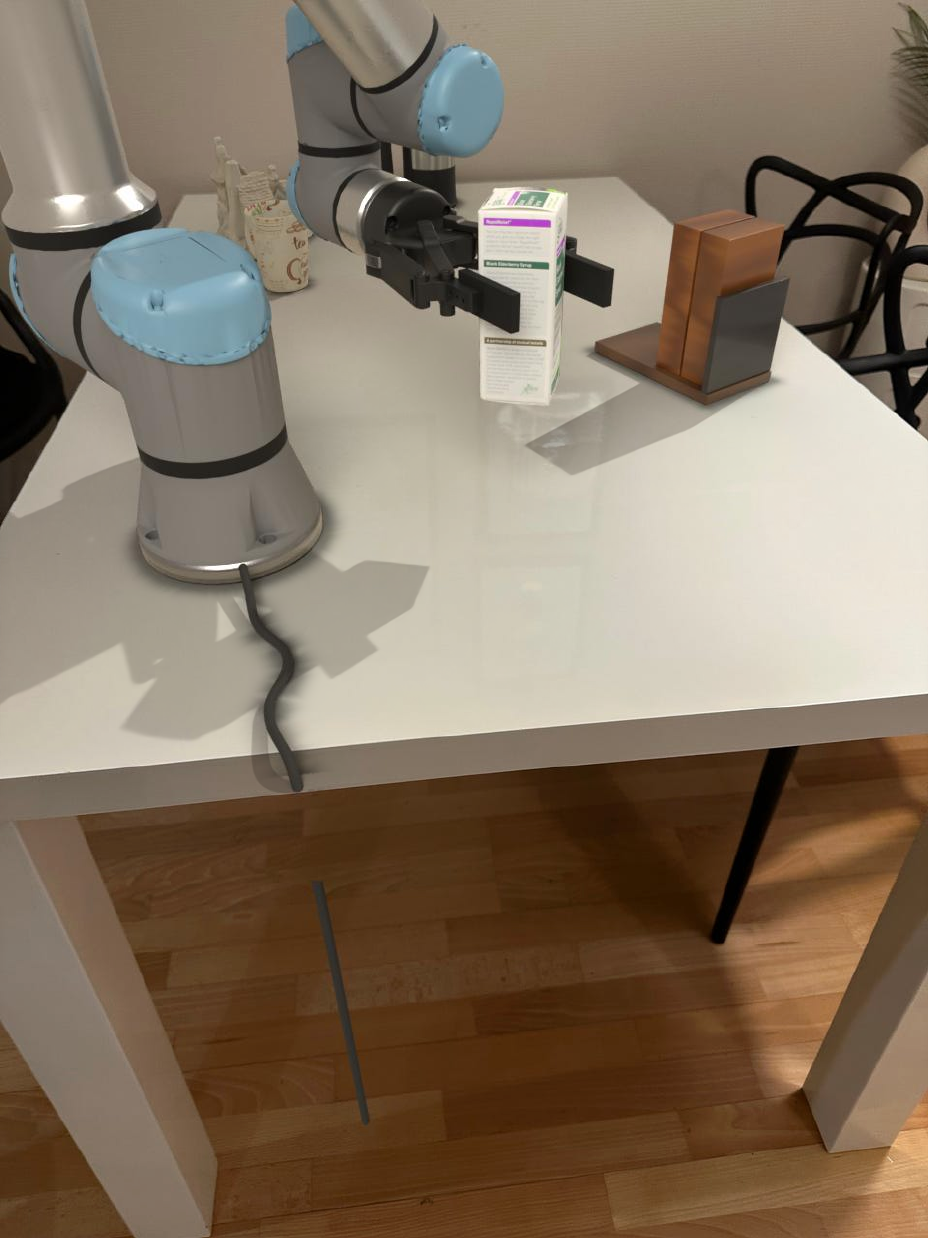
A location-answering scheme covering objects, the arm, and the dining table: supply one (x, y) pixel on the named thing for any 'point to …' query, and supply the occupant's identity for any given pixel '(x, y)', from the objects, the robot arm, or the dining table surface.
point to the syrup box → (523, 292)
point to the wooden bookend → (712, 309)
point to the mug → (278, 245)
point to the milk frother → (425, 170)
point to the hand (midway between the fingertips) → (563, 300)
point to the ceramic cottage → (241, 193)
